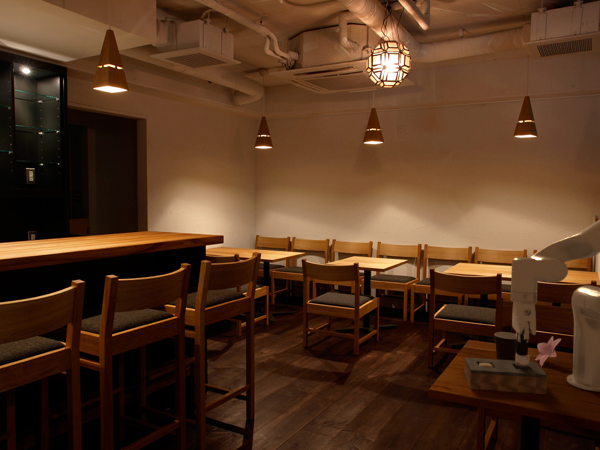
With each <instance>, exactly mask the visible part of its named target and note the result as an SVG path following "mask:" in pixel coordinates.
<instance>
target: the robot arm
mask: <svg viewBox="0 0 600 450" xmlns="http://www.w3.org/2000/svg"><path fill="white" fill-rule="evenodd" d="M599 254H600V219H598V220H596V221H595V222H593V223H592V224H590V225H589V226H587V227H586V228H584V229H583V230H581V231H579V232H578V233H576V234H574V235H570V236H568V237H566V238H562V239H560V240H558V241H555V242H553V243H551V244H548V245H547V246H545V247H543V248H542V249H540V250H539V251H537V252H535V253H534V254H533V255H532V256H530V257H525V256H523V257H522V256H518V257H514V258H512V261H511V273H510V275H511V279H510V281H511V282H510V301H511V302H512V303H513V304H512V313H511V314H512V316H511V320H512V321H511V326H512V328H513V330H514V331H515V334H516V340H518V341H516V353H517V354H518V355H528V354H529V340H530V334H531V335H532V336H535V335H536V334H537V319H536V317H537V313H536V304H537V302H538V282H546V283H559V282H562V281H564V280H565V278H567V276H568V274H569V268H568V266H567V265H566V263H568V262H570V261H573V260H582V259H583V260H584V259H589V258H592V257H595V256H598V255H599ZM571 309H572V314H573V350H572V351H573V353H572V354H573V355H572V373H571V374H569V375H567V376H566V382H568V384H570V385H571V386H573V387H576V388H577V389H582V390H586V391H591V392H598V393H599V392H600V287H599V286H595V285H590V284H589V285H581V286H579V287H578V288H576V289H575V290H574V291H573V293H572V296H571Z"/></svg>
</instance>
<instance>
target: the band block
mask: <svg viewBox="0 0 600 450" xmlns="http://www.w3.org/2000/svg"><path fill="white" fill-rule="evenodd" d="M479 363H489V364H491V365H492V368H491V367H479ZM464 377H465V380H466V382H467V385H468V386H469V389H470V390H482V391H494V392H495V391H496V392H510V393H511V392H512V393H525V394H537V395H547V388H548V387H547V386H548V382H547V381H548V374H547V373H546V372H545V371H544V369H543V368H542V367H541V366H540V364H539V365H538V363H537V362H536V361H531V360H529V370H522V369H515V361H514V360H497V358H494V359H493V358H481V357H480V358H478V357H464Z"/></svg>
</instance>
